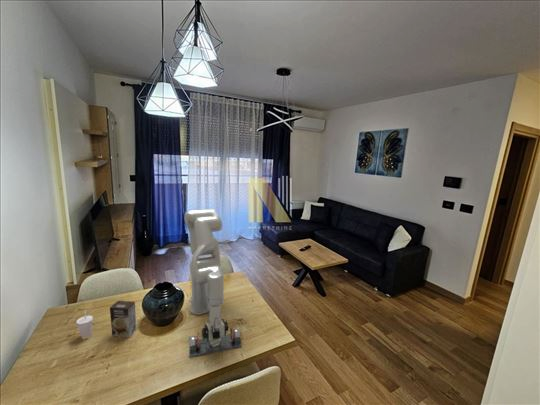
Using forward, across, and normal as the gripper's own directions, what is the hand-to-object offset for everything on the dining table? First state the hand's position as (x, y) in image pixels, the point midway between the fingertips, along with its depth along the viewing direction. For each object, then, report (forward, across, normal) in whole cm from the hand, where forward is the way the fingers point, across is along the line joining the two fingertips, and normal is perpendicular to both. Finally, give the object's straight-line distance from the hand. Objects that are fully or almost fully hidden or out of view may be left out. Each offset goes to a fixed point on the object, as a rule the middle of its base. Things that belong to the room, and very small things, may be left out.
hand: (215, 330), depth 114 cm
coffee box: (+8, -19, -44) cm, 48 cm away
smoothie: (+8, -21, -61) cm, 65 cm away
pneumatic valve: (+7, 0, 0) cm, 7 cm away
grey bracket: (+8, 0, 0) cm, 8 cm away
